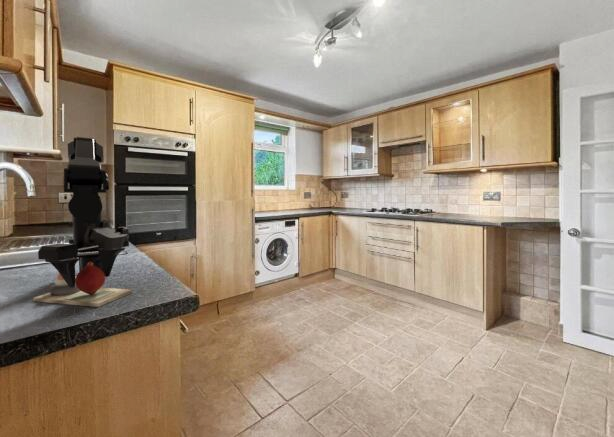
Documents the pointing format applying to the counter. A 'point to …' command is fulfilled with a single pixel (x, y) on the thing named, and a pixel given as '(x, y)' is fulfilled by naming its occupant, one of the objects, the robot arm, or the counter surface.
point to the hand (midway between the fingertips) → (90, 281)
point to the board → (81, 296)
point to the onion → (90, 279)
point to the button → (60, 281)
